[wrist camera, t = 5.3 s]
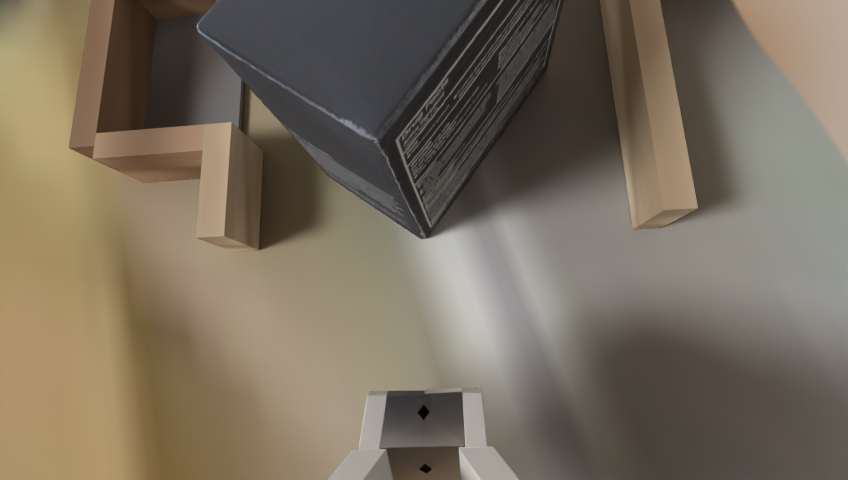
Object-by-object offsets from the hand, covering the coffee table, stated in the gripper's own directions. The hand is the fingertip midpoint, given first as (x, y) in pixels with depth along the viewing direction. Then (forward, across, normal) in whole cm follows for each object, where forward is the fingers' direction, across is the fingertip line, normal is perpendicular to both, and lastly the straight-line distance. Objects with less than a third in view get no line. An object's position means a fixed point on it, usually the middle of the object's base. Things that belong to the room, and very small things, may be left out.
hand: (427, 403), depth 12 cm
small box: (+14, 0, -3) cm, 14 cm away
